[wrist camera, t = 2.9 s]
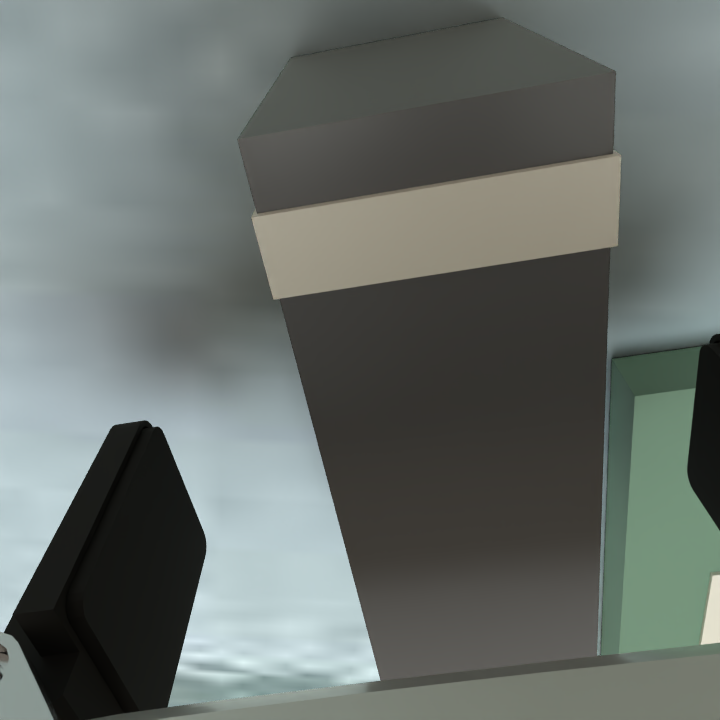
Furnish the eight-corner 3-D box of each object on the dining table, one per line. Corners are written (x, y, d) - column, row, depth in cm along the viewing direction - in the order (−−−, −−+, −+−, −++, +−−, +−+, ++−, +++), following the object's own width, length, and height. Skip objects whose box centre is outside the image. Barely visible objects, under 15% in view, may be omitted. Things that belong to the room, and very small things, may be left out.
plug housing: (287, 57, 12) (230, 142, 7) (505, 17, 11) (625, 71, 6) (381, 499, 18) (389, 728, 12) (527, 481, 17) (599, 710, 12)
